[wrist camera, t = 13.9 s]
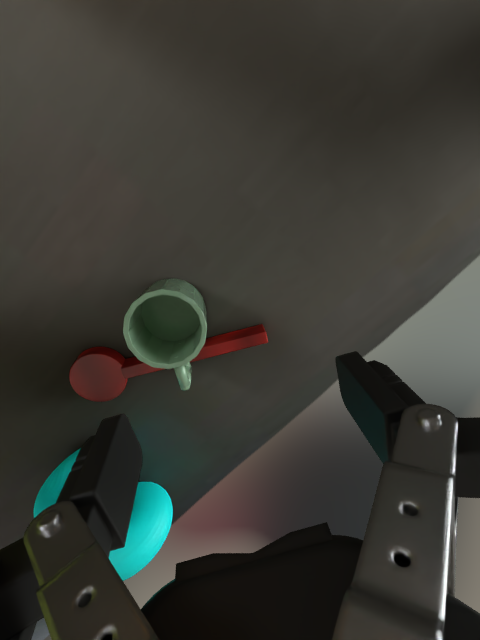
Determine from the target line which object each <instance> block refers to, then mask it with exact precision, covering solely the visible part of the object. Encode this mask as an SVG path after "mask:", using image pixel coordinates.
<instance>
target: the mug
mask: <svg viewBox="0 0 480 640" xmlns="http://www.w3.org/2000/svg"><path fill="white" fill-rule="evenodd" d="M206 333H207V313H206V307H205V303H204V300H203V298H202V296H201V294H200V293H199V291H198V290H197V289H196V288H195V287H194V286H192V285H191V284H189V283H188V282H186V281H183V280H179V279H163V280H160V281H157V282H155V283H154V284H152V285H151V286H150V287H148V288H147V289H146V290H145V291H144V292H143V293H142V294H141V295H140V296H139V297H138V298H137V299H136V300H135V301H134V302H133V303H132V304H131V306H130V308H129V310H128V311H127V313H126V315H125V317H124V326H123V335H124V337H125V340H126V343H127V346H128V348H129V350H130V351H131V352H132V353H133V354H134V355H135V356H136V358H137V359H138V360H140V361H142V362H144V363H146V364H148V365H149V366H151V367H155V368H164V369H171V368H174V370H175V373H176V376H177V380H178V383H179V386H180V389H181V390H183V391H187V390H188V389H189V388H190V385H191V372H192V367H191V364H190V361H191V360H192V359H194V358H195V357H196V356H197V355H198V354H199V352H200V350H201V349H202V347H203V346H204V344H205V340H206Z"/></svg>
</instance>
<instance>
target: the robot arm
mask: <svg viewBox="0 0 480 640" xmlns="http://www.w3.org/2000/svg"><path fill="white" fill-rule="evenodd" d="M336 367H337V373H338V379H339V386H340V392H341V396H342V399H343V402H344V404H345V406H346V408H347V410H348V411H349V413H350V414H351V416H352V417H353V419H354V420H355V422H356V423H357V425H358V426H359V428H360V429H361V431H362V432H363V434H364V435H365V437H366V438H367V440H368V442H369V443H370V445H371V446H372V448H373V449H374V451H375V452H376V454H377V455H378V457H379V458H380V460H381V461H382V463H383V467H382V471H381V475H380V479H379V483H378V486H377V490H376V494H375V498H374V502H373V505H372V509H371V513H370V517H369V521H368V524H367V528H366V532H365V536H364V540H360V539H358V538H354V537H349V536H342V535H331V532H330V529H329V527H328V524H327V522H326V523H323V524H319V525H316V526H312V527H308V528H305V529H301V530H297V531H294V532H290V533H288V534H286V535H285V536H283V537H281V538H279V539H278V540H276V541H274V542H272V543H270V544H269V545H267V546H265V547H263V548H262V549H260V550H258V551H256V552H254V553H233V554H232V553H226V554H225V553H221V554H220V553H216V554H214V553H213V554H210V555H206V556H202V557H199V558H195V559H192V560H188V561H184V562H181V563H177V564H176V576H175V579H174V580H172V581H171V582H169V583H168V584H167V585H165V586H164V587H162V588H161V589H160V590H159V591H158V592H157V593H155V594H154V595H153V597H151V599H150V600H149V601H148V602H147V603H146V604H145V605H144V606H143V608H142V609H140V608H139V606H138V605H137V603H136V602H135V600H134V598H133V597H132V595H131V594H130V592H129V590H128V589H127V587H126V585H125V584H124V582H123V581H122V579H121V577H120V576H119V574H118V573H117V571H116V569H115V568H114V566H113V565H112V563H111V561H110V560H109V554H110V551H112V550H116V549H120V548H123V547H125V542H126V538H127V533H128V528H129V523H130V519H131V514H132V509H133V504H134V500H135V495H136V490H137V485H138V481H139V476H140V471H141V466H142V451H141V447H140V444H139V442H138V440H137V438H136V435H135V433H134V431H133V429H132V427H131V424H130V422H129V420H128V418H127V416H126V415H125V414H120V415H116V416H113V417H109V418H105V419H103V420H102V421H101V423H100V426H99V428H98V431H97V433H96V435H95V436H91V437H90V438H89V439H88V440H87V442H86V443H85V444H84V445H83V446H82V447H81V449H80V451H79V453H78V455H77V457H76V462H74V464H73V466H72V468H71V472H70V473H69V475H68V477H67V479H66V481H65V484H64V486H63V488H62V490H61V492H60V495H59V497H58V499H57V501H56V503H55V504H53V505H51V506H49V507H47V508H46V509H44V510H43V511H42V512H40V513H39V514H38V515H37V516H36V517H35V518H34V519H33V520H32V521H31V523H30V524H29V526H28V527H27V529H26V531H25V533H24V537H23V538H22V539H20V540H18V541H16V542H14V543H12V544H10V545H8V546H6V547H5V548H3V549H1V550H0V640H31V638H32V635H33V632H34V629H35V626H36V623H37V621H39V620H40V619H42V618H45V621H46V624H47V627H48V630H49V633H50V636H51V639H52V640H480V613H478V612H477V611H475V610H473V609H472V608H470V607H469V606H467V605H466V604H464V603H463V602H461V601H460V600H458V599H456V598H455V573H456V569H455V568H456V565H455V564H456V539H457V517H458V497H466V498H467V497H468V498H480V418H457V417H455V415H454V414H453V413H451V412H450V411H449V410H447V409H445V408H443V407H441V406H437V405H432V404H426V403H425V402H424V401H423V400H422V399H421V398H420V397H419V396H418V395H417V394H416V393H415V392H414V391H413V390H411V388H409V387H408V386H407V385H406V384H405V383H404V382H402V380H401V379H400V378H399V377H398V376H397V375H395V373H394V372H393V371H392V370H391V369H390V368H389V367H388V366H387V365H384V364H382V363H380V362H377V361H375V360H374V361H370V362H366V361H365V360H364V359H363V358H362V357H361V355H360V354H359V353H358V352H356V351H355V352H351V353H347V354H344V355H340V356H337V357H336Z"/></svg>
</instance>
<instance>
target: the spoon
mask: <svg viewBox="0 0 480 640" xmlns="http://www.w3.org/2000/svg"><path fill="white" fill-rule="evenodd" d="M264 343H268V339H267V334H266V331H265V329H264V327H263V325H262V324H260V325H256V326H253V327H249V328H245V329H241V330H237V331H233V332H229V333H225V334H221V335H217V336H213V337H209V338H206V340H205V344H204V346H203V347H202V349H201V350H200V352H199V354H198V355H197V356H196V357H195V358H194V359H192V360H191V361H190V362H194V361H198V360H202V359H205V358H209V357H213V356H217V355H221V354H225V353H229V352H233V351H237V350H240V349H244V348H248V347H252V346H256V345H260V344H264ZM163 369H164V368H155V367H151V366H149V365H148V364H146V363H144V362H142V361H140V360H138V359H137V358H136V356H135V357H131V358H127V359H125V358H124V357H123V356H122V355H121V354H120V353H119V352H117V351H115V350H113V349H111V348H107V347H93V348H89V349H87V350H85V351H83V352H82V353H81V354H80V355H79V356H78V357H77V359H76V360H75V362H74V363H73V365H72V366H71V369H70V372H69V380H70V383H71V386H72V387H73V389H74V390H75V391H76V392H77V393H78V394H79V395H80V396H82V397H83V398H85V399H88V400H91V401H96V402H103V401H109V400H112V399H114V398H116V397H117V396H119V395H120V394H121V393H122V392H123V390H124V389H125V387H126V384H127V380H128V378H132V377H136V376H139V375H143V374H147V373H151V372H155V371H159V370H163Z"/></svg>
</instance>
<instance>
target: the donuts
mask: <svg viewBox="0 0 480 640" xmlns="http://www.w3.org/2000/svg"><path fill="white" fill-rule="evenodd" d="M80 449H81V448H80ZM80 449H78V450H77V451H75V452H74V453H73V454H71V455H70V456H69V457H67V458H66V459H65V460H64V461H63V462H62V463H61V464H60V465H59V466H58V467H57V468H56V469H55V470H54V471H53V472H52V473H51V474H50V476H49V477H48V478H47V479H46V481H45V482H44V484H43V485H42V487H41V489H40V491H39V493H38V495H37V498H36V501H35V505H34V518H35V517H36V516H37V515H38V514H39V513H40V512H42V511H43V510H44V509H46V508H47V507H49V506H51V505H53V504H55V503H56V501H57V499H58V497H59V495H60V492H61V490H62V488H63V486H64V484H65V481H66V479H67V477H68V475H69V473H70V472H71V468H72V466H73V464H74V462H76V457H77V455H78V453H79V451H80ZM172 516H173V507H172V502H171V499H170V496H169V495H168V493H167V491H166V490H165V489H164V488H163V487H161V486H160V485H158V484H156V483H153V482H138V485H137V490H136V495H135V500H134V504H133V509H132V514H131V519H130V523H129V528H128V533H127V538H126V542H125V547H123V548H120V549H116V550H112V551H110V554H109V560H110V561H111V563H112V565H113V566H114V568H115V569H116V571H117V573H118V574H119V576H120V577H121V579H122V581H124V580H126V579H128V578H130V577H131V576H133V575H135V574H136V573H137V572H139V571H140V570H141V569H143V568H144V567H145V566H146V565H147V564H148V563H149V562H150V561H151V560H152V559H153V558H154V556H155V555H156V554H157V552H158V551H159V550H160V548H161V547H162V545H163V543H164V541H165V539H166V537H167V535H168V533H169V530H170V527H171V523H172Z"/></svg>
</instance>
